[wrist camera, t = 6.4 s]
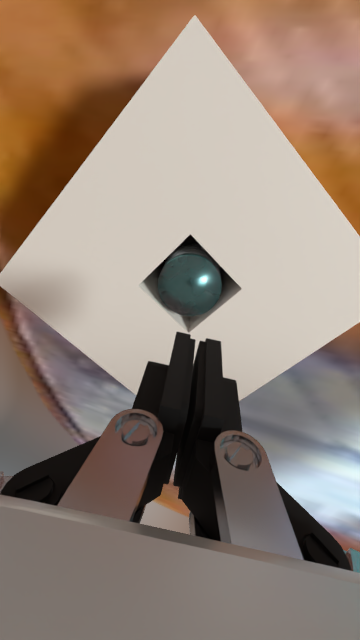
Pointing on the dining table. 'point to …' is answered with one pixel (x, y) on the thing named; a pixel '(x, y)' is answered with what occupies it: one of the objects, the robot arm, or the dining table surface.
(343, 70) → the dining table surface
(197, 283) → the peg
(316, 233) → the block
